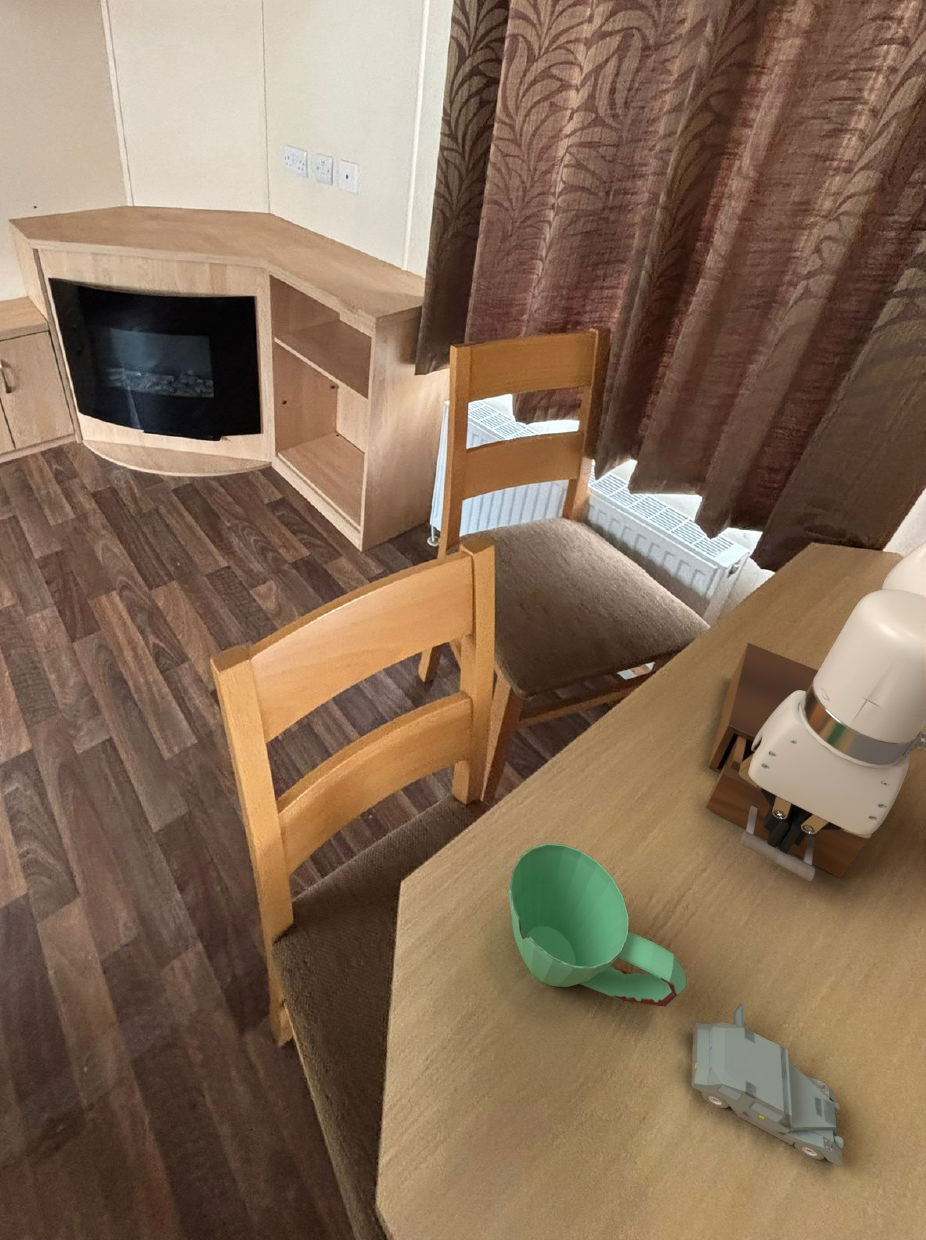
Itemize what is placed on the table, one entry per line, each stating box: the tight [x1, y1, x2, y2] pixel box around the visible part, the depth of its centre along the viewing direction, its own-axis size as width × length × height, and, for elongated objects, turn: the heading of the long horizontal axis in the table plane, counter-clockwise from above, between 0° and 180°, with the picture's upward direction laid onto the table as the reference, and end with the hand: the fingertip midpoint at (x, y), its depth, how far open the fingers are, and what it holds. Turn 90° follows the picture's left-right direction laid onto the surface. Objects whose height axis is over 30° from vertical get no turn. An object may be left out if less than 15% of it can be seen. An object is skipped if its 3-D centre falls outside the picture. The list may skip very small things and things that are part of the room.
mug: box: [507, 842, 687, 1008], centre depth 60 cm, size 15×10×10 cm
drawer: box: [705, 733, 867, 883], centre depth 73 cm, size 18×12×6 cm
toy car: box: [691, 1002, 845, 1167], centre depth 54 cm, size 6×10×5 cm, turn 63°
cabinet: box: [707, 642, 819, 775], centre depth 79 cm, size 15×14×8 cm
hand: (777, 836), depth 68 cm, fingers closed
